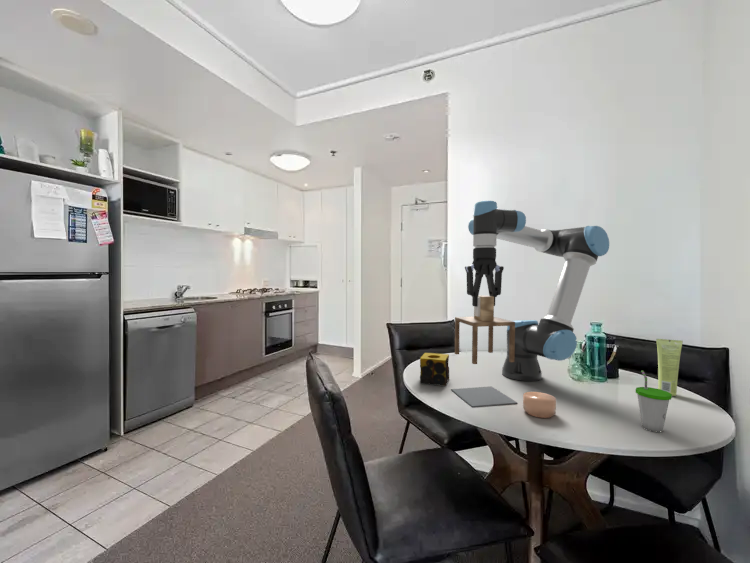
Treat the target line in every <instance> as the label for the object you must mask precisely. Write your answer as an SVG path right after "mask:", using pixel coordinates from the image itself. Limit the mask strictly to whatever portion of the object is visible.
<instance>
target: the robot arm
mask: <svg viewBox="0 0 750 563" xmlns="http://www.w3.org/2000/svg"><path fill="white" fill-rule="evenodd" d="M526 223H527V217H526V215H525V213H524V212H523V211H521V210H516V209H505V208H504V209H503V208H498V204H497V202H496V201H494V200H479V201H477V202H476V203H474V206H473V215H472V218H471V219H470V220H469V222H468V225H467V228H468V231H469V233H470V234H471V235H472V236H473V239H472V240H473V241H472V243H473V245H472V247H474V248H472V249H473V250H472V259H473V261H472V263H471V264H470V265H466V266H464V269H465V272H466V273H465V274H466V294H467V295H468V296H471V297H472V298H471V300H472V301H471V302H472V307H473V308H474V309H473V317H474V316H478V317H480V297H478V295H480V289H481V284H482V280H483V278H484V276H485V278H486V284H487V289H488V296H493V297H494V307H495V306H496V298H497V297H498V296H500V295H501V294H502V282H503V281H502V279H503V272H504V268H505V267H504V266H502V265H499V264H497V261H496V258H497V249H496V247H497V239H498V240H502V241H504V242H505V241H506V242H509V243H514V244H516V245H517V244H518V245H521V246H526V247H530V248H533V249H535V250H536V251H537V252H539V253H543V254H547V255H552V256H555V257H561V258H563V259H564V260H565V262H564V265H563V268H562V271H561V273H560V275H559V276H560V277H559V280H558V281H557V285H556V287H555V290H554V293H553V296H552V298H551V302H550V305H549V308H548V310H547V314H546V315H545V316H544V317H541V318H540V319H539V320H540V321H538V320H536V319H534V320H533V319H526V320H525V319H522V320H521V319H520V320H519V319H518V320H512V321H513V322H515V356H514V362H509V329H510V326H506V328H507V329H506V358H504V359H505V360H504V363H503V364H502V368H501V373H502V376H504V377H506V378H508V379H512V380H514V381H515V380H517V381H523V382H533V381H534V382H536V381H540V380H542V376H543V375H542V374H543V372H542V369H541V366H540V363H539V360H538V356H539V357H543V358H546V359H548V360H553V361H561V362H562V361H565V360H567V359H569V358H570V357H572V355H573V354H574V353H575V351H576V349H577V345H578V344H577V343H578V341H577V335H576V334H575V333H574V330H575V329H574V326H573V325H572V321H573V318H574V316H575V312H576V309H577V306H578V304H579V300H580V297H581V294H582V292H583V288H584V286H585V283H586V279H587V277H588V273H589V270H590V268H591V267H592V266H594V265H596V264H597V261H598V259H599V257H602V256H605V255H607V253H608V252H609V249H610V239H609V235H608V233H607V232H606V230H605V229H604V228H603V227H601V226H600V225H586V226H580V227H573V228H564V229H556V230H555V229H554V230H553V229H552V230H550V229H548V228H547V229H546V228H544V229H537V228H534V227H530V226H527V225H526ZM474 270H475V274H474ZM494 271H495V273H494Z"/></svg>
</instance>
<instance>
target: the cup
mask: <svg viewBox="0 0 750 563" xmlns="http://www.w3.org/2000/svg"><path fill="white" fill-rule="evenodd" d="M640 372H641V374H642V376H643V377H644V386H639V387H636V388H635V394H637V399H638V400H637V401H638V407H639V409H638V410H639V416H640V423H641V427H642V428H643V429H644V428H645V429H644V430H646V429H647V431H649V430H651V431H650V432H653V431H657V432H656V433H661V432H660V431H663V432H664V427H665V421H666V417H667V414H668V413H667V412H668V408H669V404H670V400H672V398H673V396H672V394H670V393H669V392H667V391H664V390H660V389H658V388H654V387H648V377H647V375H646V373H645V371H644V370H641V371H640Z"/></svg>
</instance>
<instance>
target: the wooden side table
mask: <svg viewBox="0 0 750 563" xmlns="http://www.w3.org/2000/svg"><path fill="white" fill-rule="evenodd" d="M478 297H480V317H478V316H474V315H473V316H455V317H454V354H455V355H460V323H462V324H464V325H468V326H471V327H472V330H471V331H472V332H471V338H472V340H471V364H472V365H478V341H479V340H478V338H479V336H478V333H479V332H478V331H479V329H478V328H479V327H480V328H481V327H482V328H483V327H488V334H487V336H488V337H487V338H488V339H487V340H488V341H487V352H488V353H489V354H493V353H494V327H507V326H510V329H509V362H514V356H515V322H513V321H514V320H508V319H506V318H505V319H504V318H500V317H496V316H495V315H494V314H495V313H494V312H495V306H494V297H493V296H489V295H480V294H479V295H478Z"/></svg>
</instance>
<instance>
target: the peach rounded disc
mask: <svg viewBox="0 0 750 563" xmlns="http://www.w3.org/2000/svg"><path fill="white" fill-rule="evenodd" d="M522 397H523V399H522V401H523V402H522V409H523V410H524V411H525V412H526V413H527V414H528V415H529V416H532V417H535V418H540V419H541V418H542V419H548V418H549V419H550V418H551V417H553V416H555V415H556V414H557V398H556V397H555V396H554V395H551V394H549V393H546V392H540V391H527V392H524V393H523V395H522Z"/></svg>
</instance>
